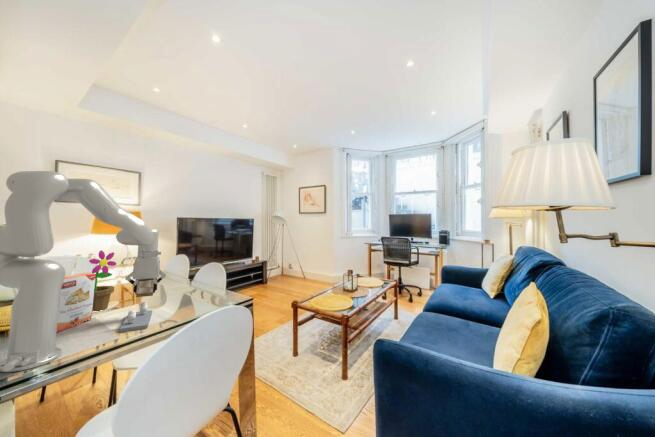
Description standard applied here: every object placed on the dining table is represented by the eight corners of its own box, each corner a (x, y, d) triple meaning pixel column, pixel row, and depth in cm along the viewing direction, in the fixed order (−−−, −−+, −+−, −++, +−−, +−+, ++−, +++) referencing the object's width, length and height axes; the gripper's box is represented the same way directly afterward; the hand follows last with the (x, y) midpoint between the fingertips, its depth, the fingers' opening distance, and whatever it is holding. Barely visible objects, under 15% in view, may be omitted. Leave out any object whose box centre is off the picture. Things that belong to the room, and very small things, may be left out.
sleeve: (153, 292, 117) (154, 277, 117) (152, 295, 111) (153, 280, 112) (138, 293, 113) (139, 279, 114) (136, 297, 108) (137, 281, 108)
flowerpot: (87, 316, 110) (92, 251, 112) (64, 313, 113) (69, 250, 114) (120, 306, 124) (124, 249, 126) (98, 304, 127) (103, 247, 128)
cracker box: (57, 333, 93) (61, 279, 94) (42, 332, 93) (46, 279, 94) (92, 319, 107) (96, 273, 108) (79, 319, 107) (83, 272, 108)
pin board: (147, 328, 100) (148, 311, 101) (119, 332, 96) (120, 314, 96) (152, 313, 117) (153, 298, 118) (128, 316, 113) (129, 300, 113)
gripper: (169, 253, 121) (167, 288, 120) (125, 254, 112) (123, 292, 111) (169, 255, 114) (167, 292, 114) (122, 256, 105) (119, 297, 105)
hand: (145, 292), depth 112 cm, fingers closed on sleeve, 6 cm apart
